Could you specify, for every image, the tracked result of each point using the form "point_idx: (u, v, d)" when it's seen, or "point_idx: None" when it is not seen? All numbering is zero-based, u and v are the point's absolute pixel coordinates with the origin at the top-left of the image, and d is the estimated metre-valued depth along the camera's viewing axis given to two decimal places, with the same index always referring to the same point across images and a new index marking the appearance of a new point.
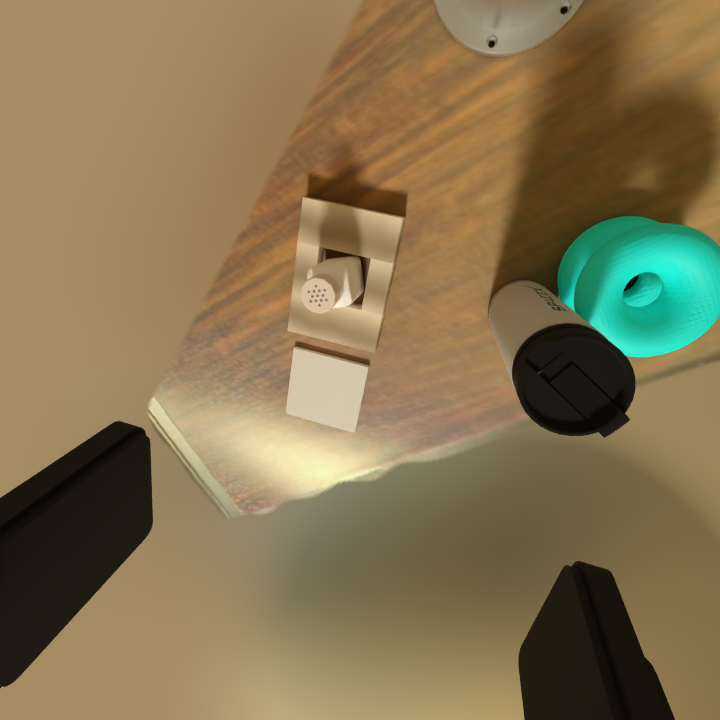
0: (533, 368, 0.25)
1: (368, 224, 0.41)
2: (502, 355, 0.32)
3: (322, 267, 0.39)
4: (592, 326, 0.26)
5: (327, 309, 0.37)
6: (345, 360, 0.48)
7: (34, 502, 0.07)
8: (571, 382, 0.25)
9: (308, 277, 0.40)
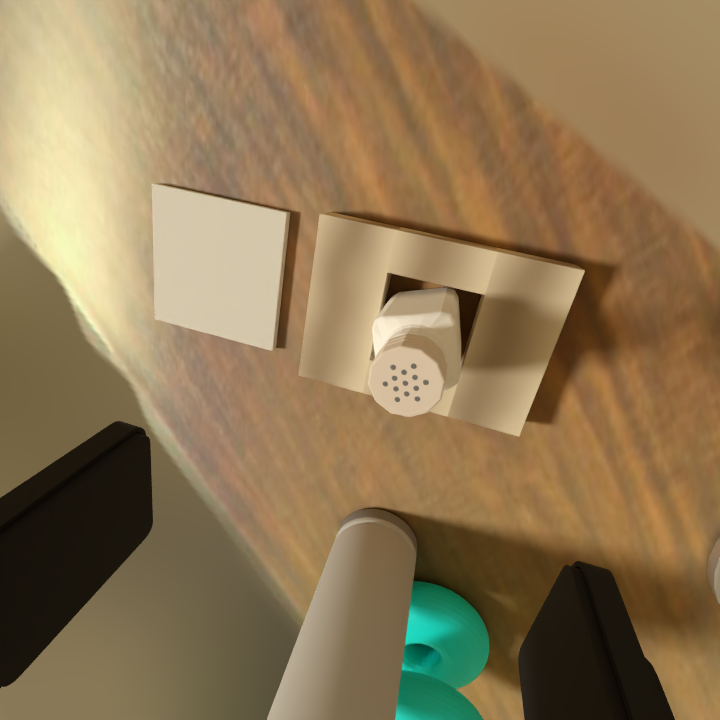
0: None
1: (515, 385, 0.24)
2: (319, 665, 0.21)
3: (455, 347, 0.20)
4: None
5: (377, 398, 0.18)
6: (278, 310, 0.28)
7: (34, 502, 0.07)
8: None
9: (435, 316, 0.19)
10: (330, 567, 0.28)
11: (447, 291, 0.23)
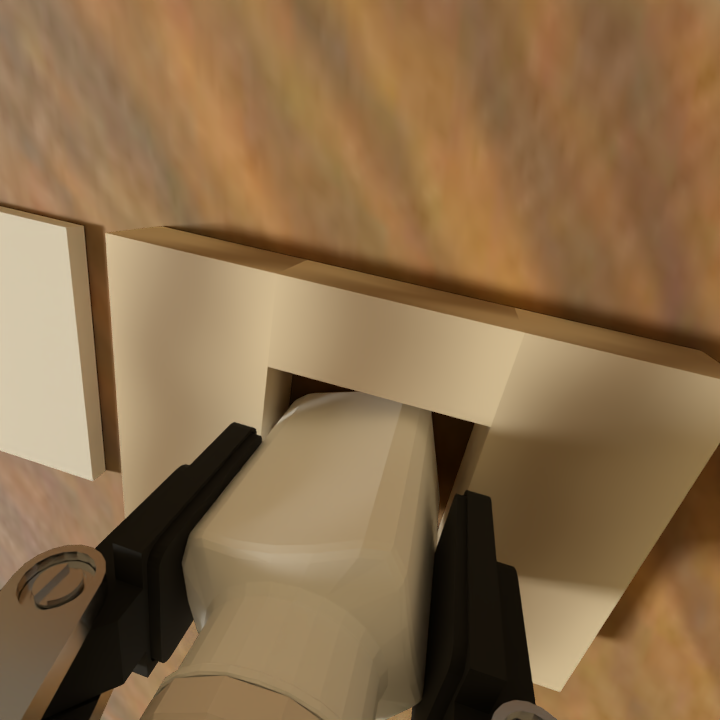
0: None
1: (557, 606, 0.11)
2: None
3: (407, 644, 0.07)
4: None
5: None
6: (91, 411, 0.14)
7: (192, 496, 0.08)
8: None
9: (345, 562, 0.06)
10: None
11: (404, 409, 0.10)
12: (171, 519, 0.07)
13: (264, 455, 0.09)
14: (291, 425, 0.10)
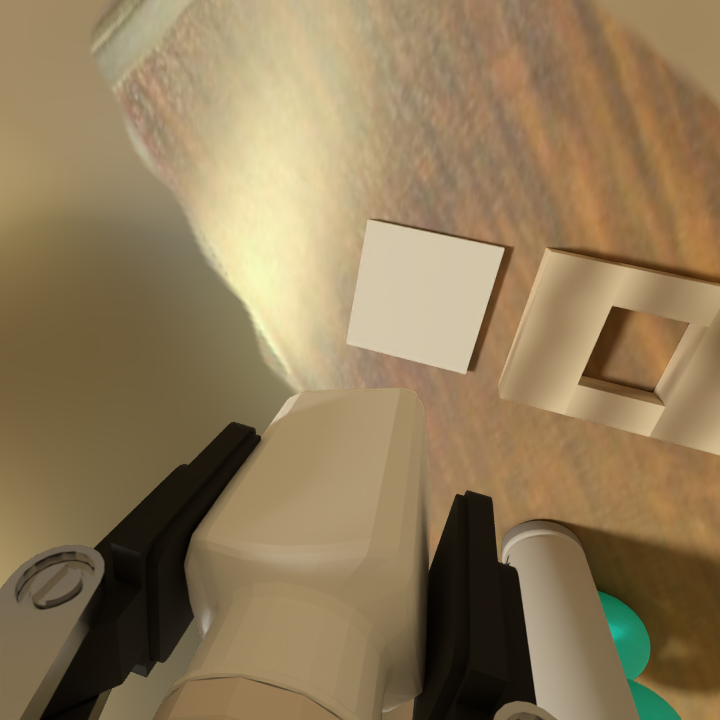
0: None
1: None
2: (575, 677, 0.23)
3: (411, 639, 0.07)
4: None
5: None
6: (476, 336, 0.29)
7: (191, 496, 0.08)
8: None
9: (352, 561, 0.06)
10: (526, 578, 0.30)
11: (399, 408, 0.10)
12: (169, 519, 0.07)
13: (262, 455, 0.09)
14: (287, 424, 0.10)
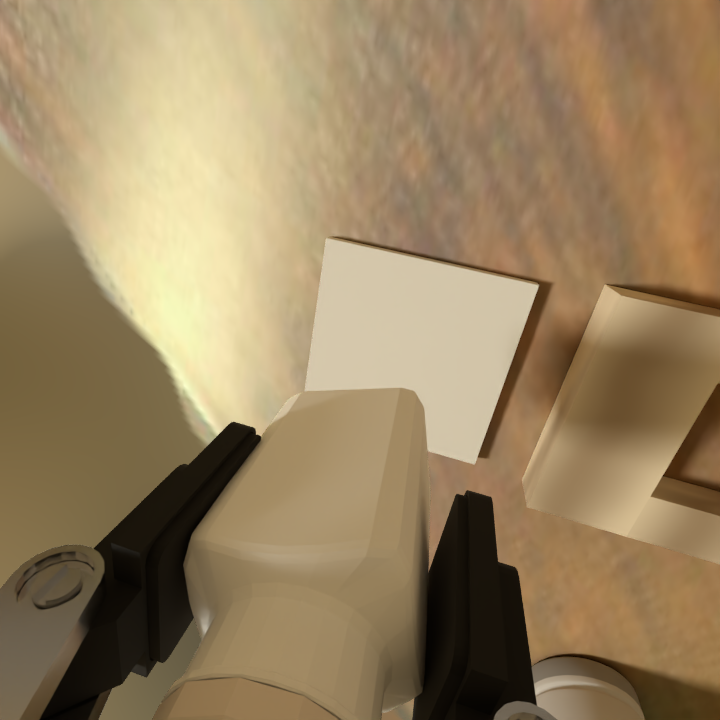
0: None
1: None
2: None
3: (411, 639, 0.07)
4: None
5: None
6: (492, 412, 0.20)
7: (191, 495, 0.08)
8: None
9: (352, 561, 0.06)
10: None
11: (399, 408, 0.10)
12: (170, 519, 0.07)
13: (262, 455, 0.09)
14: (287, 424, 0.10)
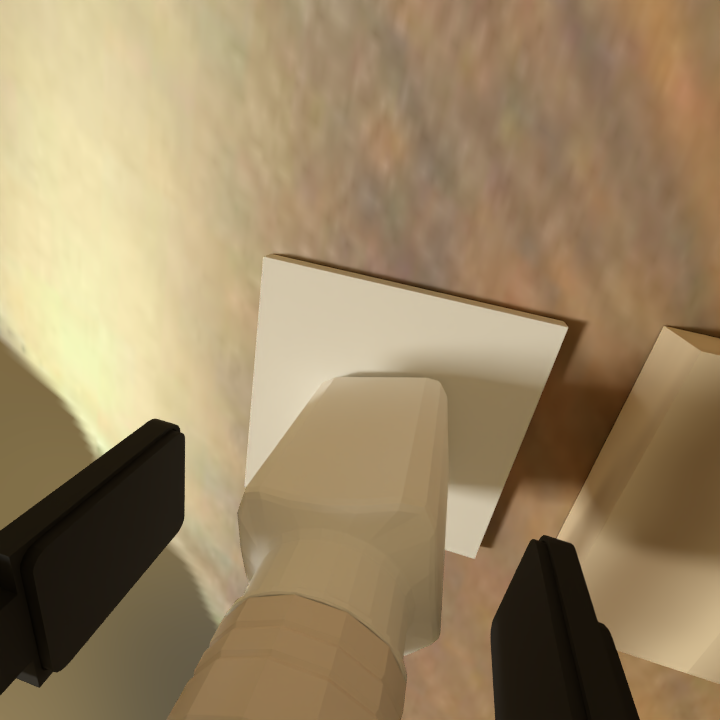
0: None
1: None
2: None
3: (432, 586, 0.08)
4: None
5: None
6: (498, 494, 0.14)
7: (86, 495, 0.07)
8: None
9: (386, 514, 0.07)
10: None
11: (425, 394, 0.11)
12: (54, 521, 0.07)
13: (303, 427, 0.10)
14: (323, 403, 0.11)
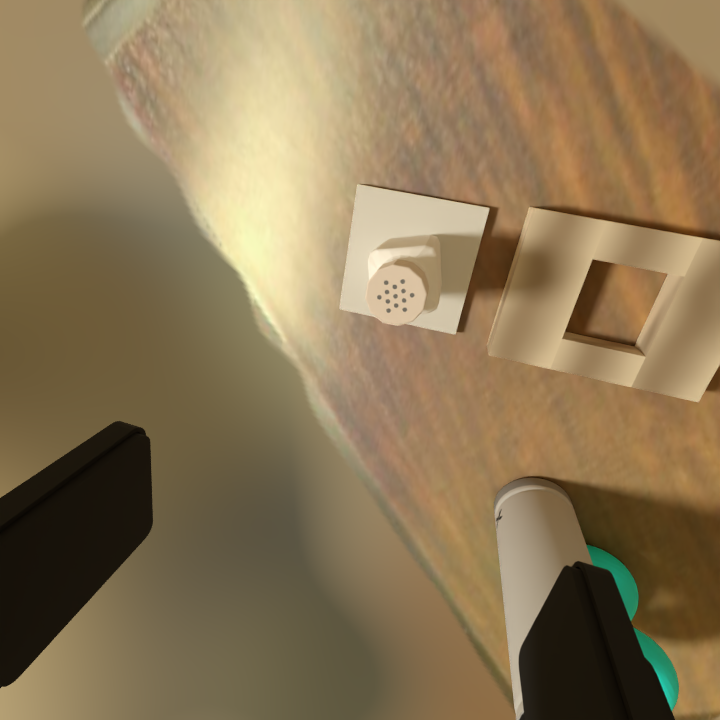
0: None
1: (702, 356, 0.27)
2: None
3: (436, 275, 0.24)
4: None
5: (372, 310, 0.22)
6: None
7: (34, 502, 0.07)
8: None
9: (421, 248, 0.24)
10: (517, 527, 0.31)
11: (430, 236, 0.28)
12: None
13: (383, 244, 0.26)
14: (388, 241, 0.28)
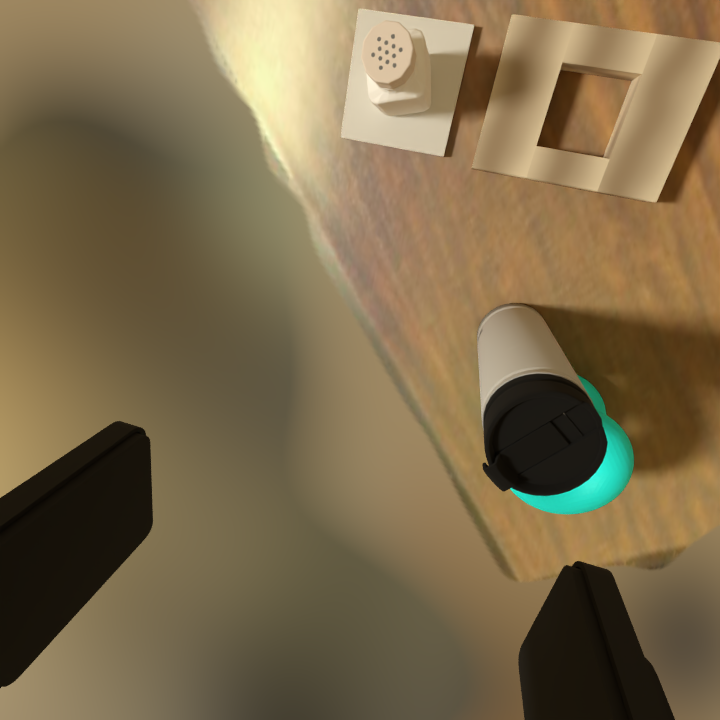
0: (570, 407, 0.22)
1: (658, 154, 0.31)
2: (526, 345, 0.28)
3: (423, 57, 0.28)
4: None
5: (367, 68, 0.26)
6: (452, 118, 0.34)
7: (34, 502, 0.07)
8: (547, 442, 0.23)
9: (410, 30, 0.27)
10: (495, 325, 0.35)
11: None
12: None
13: None
14: None
